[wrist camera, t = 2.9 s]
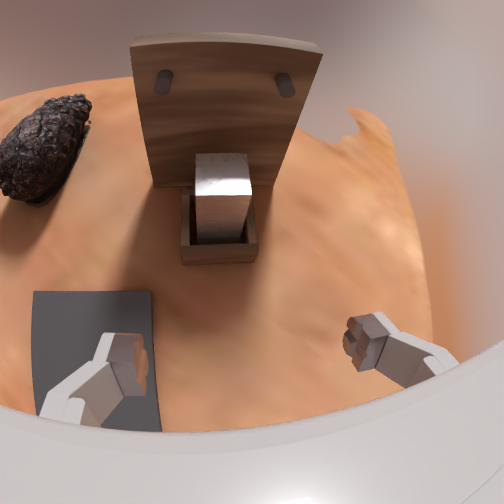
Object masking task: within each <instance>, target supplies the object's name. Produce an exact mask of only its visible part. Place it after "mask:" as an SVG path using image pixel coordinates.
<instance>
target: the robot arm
mask: <svg viewBox="0 0 504 504" xmlns="http://www.w3.org/2000/svg"><path fill="white" fill-rule="evenodd" d="M347 327H348V330H347V331H346V332H345V333H344V336H343V348H344V351H345V352H346V354H347V355H349V356H351V357H352V363H353V365H354V366H355V368H356V369H357V371H358V372H361V371H366V370H370V369H374V368H375V369H376V370H377V371H379V372H380V373H382V374H383V375H385V376H387V377H388V378H390V379H391V380H393V381H394V382H396V383H398V384H399V385H401V386H402V387H404V388H405V389H403V390H401V391H398V392H395V393H393V394H390V395H387V396H384V397H381V398H378V399H375V400H372V401H369V402H366V403H363V404H360V405H357V406H353V407H350V408H346V409H343V410H339V411H335V412H331V413H327V414H323V415H319V416H315V417H310V418H305V419H301V420H295V421H290V422H285V423H279V424H273V425H266V426H259V427H251V428H242V429H233V430H221V431H205V432H144V431H128V430H117V429H107V428H101V426H100V425H101V424H102V423H103V422H104V420H105V419H106V418H107V417H108V416H109V414H110V413H111V412H112V411H113V410H114V408H115V407H116V406H117V405H118V404H119V402H120V401H121V400H122V399H123V398H124V396H145V393H146V385H147V382H146V379H145V377H146V376H147V375H148V356H147V352H146V350H145V349H144V348H143V345H144V340H143V337H142V335H141V334H135V333H103V334H102V336H101V339H100V341H99V344H98V347H97V349H96V352H95V355H94V358H93V361H88V362H87V363H85V364H84V365H83V366H82V367H80V368H79V369H78V370H76V371H75V372H74V373H72V374H71V375H70V376H68V377H67V378H66V379H64V380H63V381H62V382H61V383H59V384H58V385H57V386H55V387H54V388H53V389H51V390H50V391H49V392H48V393H47V396H46V398H45V401H44V404H43V406H42V409H41V412H40V415H39V416H36V415H32V414H29V413H25V412H22V411H18V410H15V409H12V408H9V407H6V406H3V405H0V504H504V340H501V341H499V342H497V343H496V344H495V345H493V346H491V347H489V348H488V349H486V350H484V351H483V352H481V353H479V354H477V355H476V356H474V357H472V358H470V359H468V360H467V361H465V362H463V363H461V364H459V363H458V361H457V360H456V359H455V358H454V357H453V356H452V355H451V354H450V353H449V352H448V351H447V350H446V349H445V348H442V347H439V346H437V345H435V344H432V343H430V342H427V341H425V340H422V339H420V338H418V337H415V336H413V335H410V334H408V333H405V332H400V331H399V330H398V329H397V328H396V327H395V326H394V324H393V323H392V322H391V321H390V320H389V319H388V318H387V317H386V316H385V315H384V314H383V313H382V312H375V313H370V314H366V315H360V316H354V317H350V318H349V319H348V321H347Z"/></svg>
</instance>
